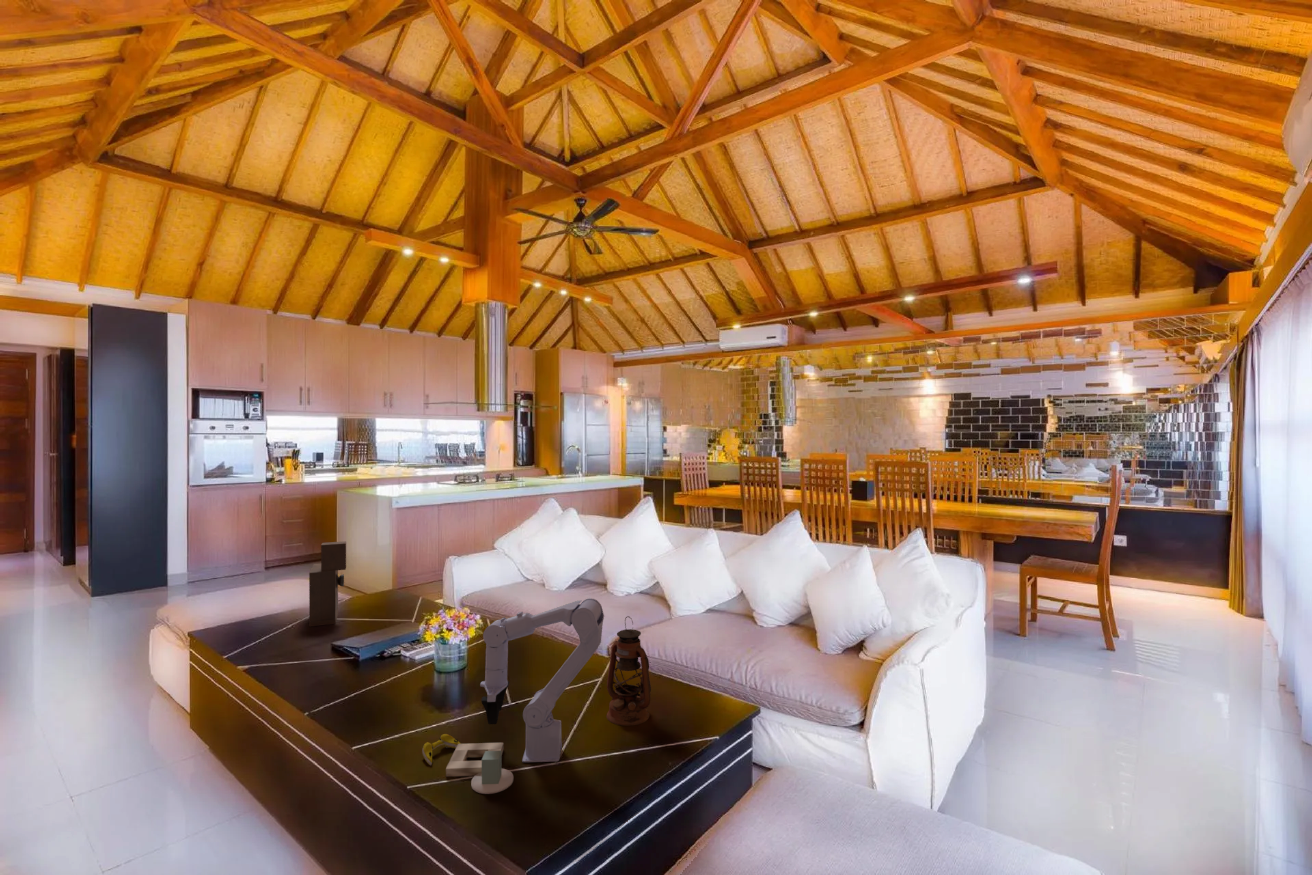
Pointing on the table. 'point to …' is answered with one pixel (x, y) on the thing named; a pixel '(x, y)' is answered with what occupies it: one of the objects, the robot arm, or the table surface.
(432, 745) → the game controller
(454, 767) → the board
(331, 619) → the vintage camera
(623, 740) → the table surface
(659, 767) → the table surface
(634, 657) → the lantern
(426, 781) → the table surface
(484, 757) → the block
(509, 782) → the coaster
